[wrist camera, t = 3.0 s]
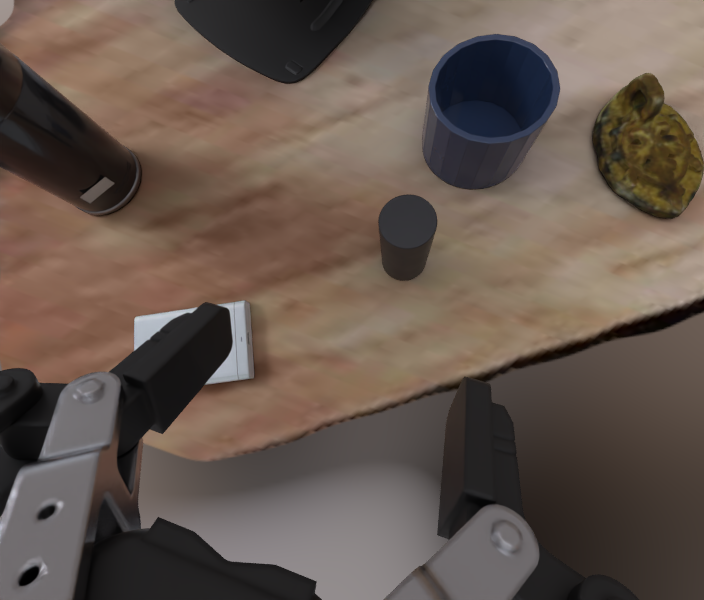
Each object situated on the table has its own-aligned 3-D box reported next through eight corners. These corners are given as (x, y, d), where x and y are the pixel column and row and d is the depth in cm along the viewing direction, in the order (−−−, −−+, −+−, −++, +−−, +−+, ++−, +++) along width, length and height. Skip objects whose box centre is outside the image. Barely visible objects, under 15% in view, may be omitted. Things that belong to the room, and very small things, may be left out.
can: (411, 178, 39) (415, 130, 32) (435, 92, 41) (445, 27, 33) (514, 198, 38) (546, 153, 30) (535, 108, 39) (570, 43, 32)
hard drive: (133, 393, 36) (248, 378, 35) (133, 316, 38) (243, 299, 37) (144, 392, 38) (255, 378, 37) (144, 318, 40) (250, 302, 39)
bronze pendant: (709, 212, 36) (649, 90, 39) (762, 188, 31) (689, 52, 34) (624, 232, 36) (570, 107, 39) (664, 211, 31) (600, 71, 34)
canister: (377, 274, 38) (371, 241, 28) (388, 235, 38) (387, 188, 29) (419, 285, 37) (429, 254, 27) (430, 244, 38) (443, 200, 28)
